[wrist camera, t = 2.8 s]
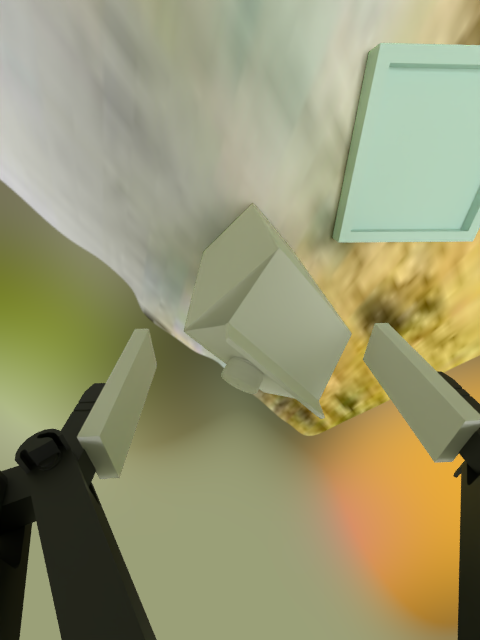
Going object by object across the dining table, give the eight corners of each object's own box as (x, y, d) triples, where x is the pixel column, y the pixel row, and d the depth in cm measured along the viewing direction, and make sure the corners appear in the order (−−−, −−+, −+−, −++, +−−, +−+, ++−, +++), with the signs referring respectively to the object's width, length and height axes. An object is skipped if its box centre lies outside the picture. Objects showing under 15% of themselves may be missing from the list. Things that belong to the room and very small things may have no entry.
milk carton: (252, 201, 25) (300, 281, 9) (295, 253, 28) (388, 383, 12) (202, 251, 27) (168, 384, 11) (246, 294, 30) (269, 448, 14)
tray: (368, 52, 19) (380, 42, 18) (542, 55, 20) (568, 47, 19) (332, 237, 27) (338, 242, 25) (459, 236, 28) (472, 241, 26)
